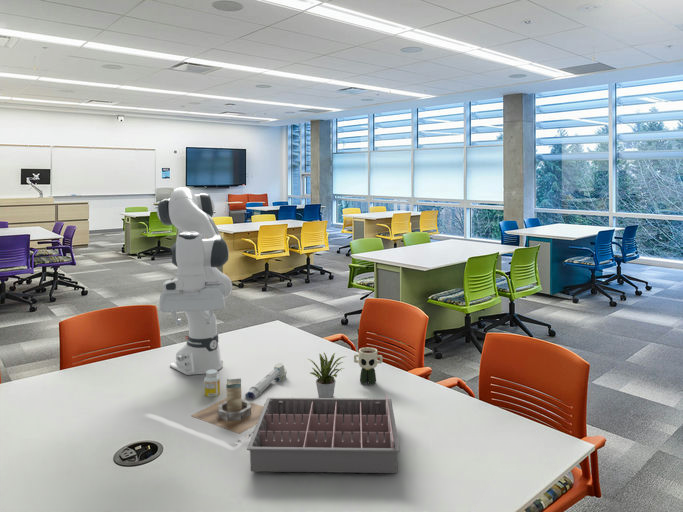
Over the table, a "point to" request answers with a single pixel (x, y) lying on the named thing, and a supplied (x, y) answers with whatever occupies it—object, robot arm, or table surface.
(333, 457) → the organizer tray
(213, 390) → the supplement bottle
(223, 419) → the collar board
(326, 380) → the house plant
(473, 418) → the table surface
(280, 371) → the electric toothbrush
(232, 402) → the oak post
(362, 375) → the character mug
